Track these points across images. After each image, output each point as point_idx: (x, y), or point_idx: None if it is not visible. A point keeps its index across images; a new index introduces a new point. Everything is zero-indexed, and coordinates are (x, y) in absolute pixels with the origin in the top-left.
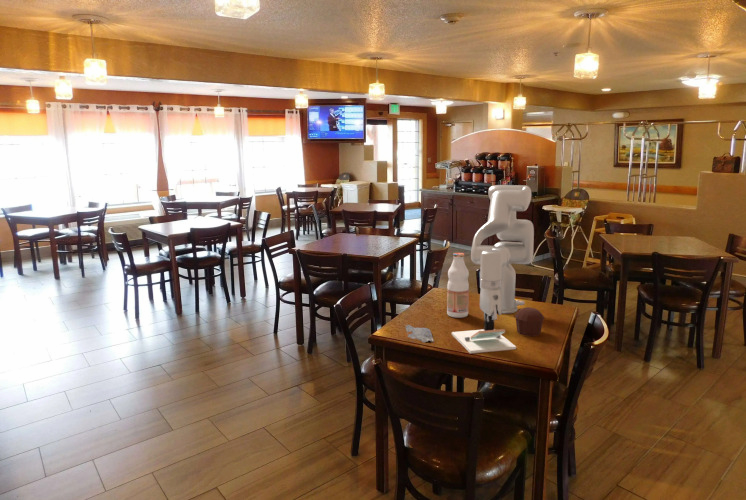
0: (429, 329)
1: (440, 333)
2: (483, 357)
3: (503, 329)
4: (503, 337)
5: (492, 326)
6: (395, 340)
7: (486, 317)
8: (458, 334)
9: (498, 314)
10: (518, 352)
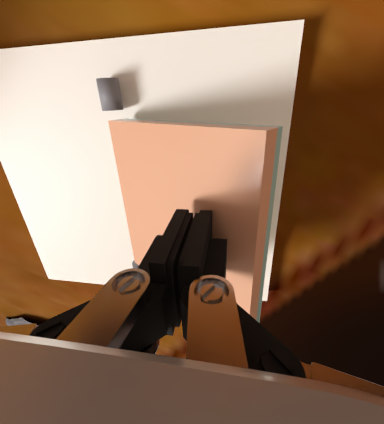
0: (27, 322)
1: (48, 298)
2: (331, 264)
3: (268, 143)
4: (113, 49)
5: (224, 255)
6: None
7: (150, 351)
8: (73, 267)
9: (332, 405)
10: (363, 32)
